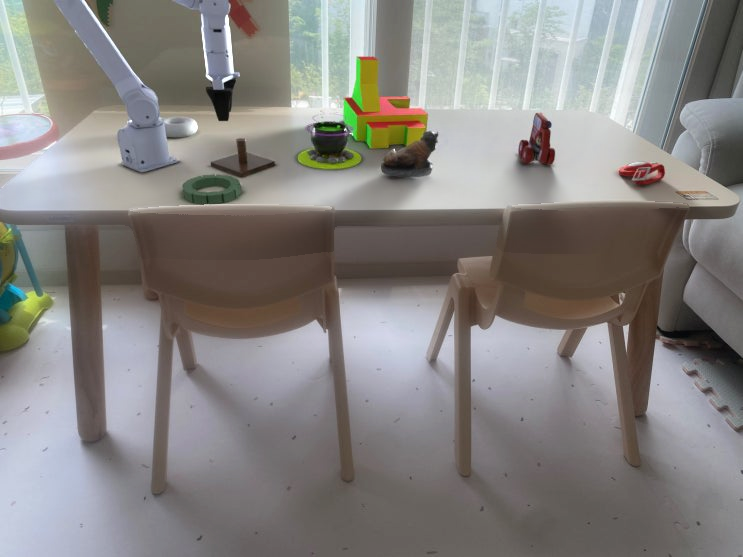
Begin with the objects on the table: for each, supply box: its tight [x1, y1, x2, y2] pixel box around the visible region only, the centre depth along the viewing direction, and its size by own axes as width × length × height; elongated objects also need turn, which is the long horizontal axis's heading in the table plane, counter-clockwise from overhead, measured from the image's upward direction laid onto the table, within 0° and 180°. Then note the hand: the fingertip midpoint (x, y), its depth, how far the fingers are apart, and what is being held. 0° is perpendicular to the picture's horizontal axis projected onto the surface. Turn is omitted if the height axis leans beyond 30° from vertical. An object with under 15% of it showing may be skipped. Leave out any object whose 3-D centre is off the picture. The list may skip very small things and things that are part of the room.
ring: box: [181, 173, 242, 205], centre depth 105 cm, size 11×11×2 cm
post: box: [210, 137, 276, 178], centre depth 118 cm, size 10×10×6 cm
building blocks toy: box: [342, 56, 429, 149], centre depth 140 cm, size 19×25×18 cm
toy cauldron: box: [297, 108, 362, 170], centre depth 123 cm, size 15×15×11 cm
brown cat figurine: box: [380, 130, 439, 178], centre depth 115 cm, size 12×7×10 cm, turn 89°
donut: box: [163, 116, 199, 139], centre depth 136 cm, size 10×4×10 cm
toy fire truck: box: [517, 112, 556, 166], centre depth 127 cm, size 7×12×10 cm, turn 178°
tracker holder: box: [617, 161, 666, 185], centre depth 121 cm, size 12×4×10 cm
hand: (224, 116), depth 119 cm, fingers open, 7 cm apart
